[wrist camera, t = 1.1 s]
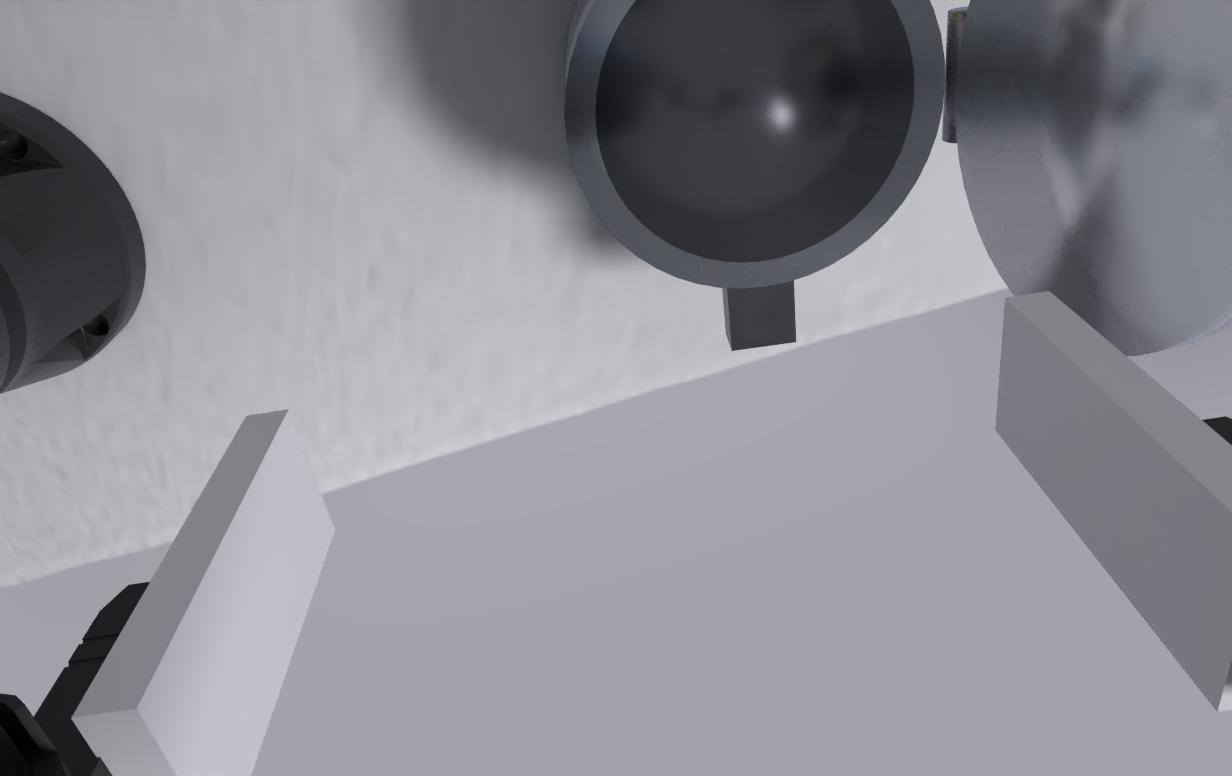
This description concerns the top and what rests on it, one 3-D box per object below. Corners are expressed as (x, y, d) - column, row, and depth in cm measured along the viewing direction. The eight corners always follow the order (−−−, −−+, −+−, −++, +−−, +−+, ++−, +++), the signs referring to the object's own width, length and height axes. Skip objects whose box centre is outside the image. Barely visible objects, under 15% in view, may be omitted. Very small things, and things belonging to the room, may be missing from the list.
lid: (1223, 442, 26) (1332, 414, 26) (1368, -164, 19) (1515, -188, 19) (946, 264, 39) (1022, 247, 39) (966, -135, 32) (1060, -151, 32)
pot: (598, 292, 50) (605, 379, 41) (527, -172, 39) (515, -186, 30) (902, 249, 50) (973, 329, 41) (914, -232, 39) (1015, -263, 30)
